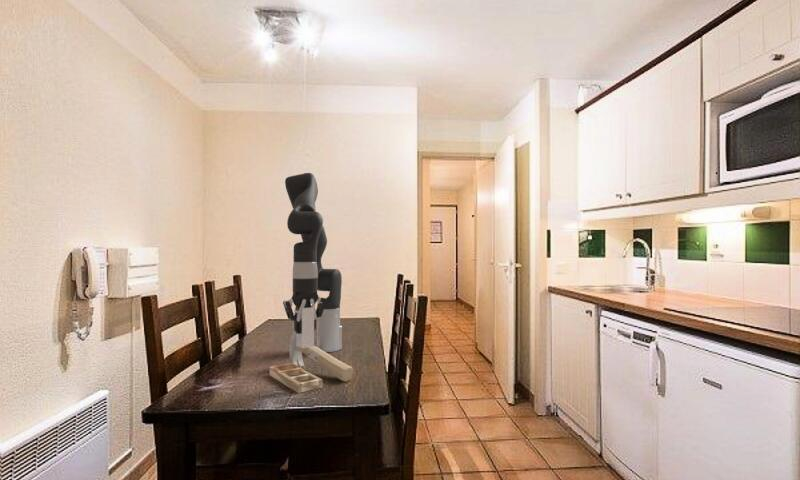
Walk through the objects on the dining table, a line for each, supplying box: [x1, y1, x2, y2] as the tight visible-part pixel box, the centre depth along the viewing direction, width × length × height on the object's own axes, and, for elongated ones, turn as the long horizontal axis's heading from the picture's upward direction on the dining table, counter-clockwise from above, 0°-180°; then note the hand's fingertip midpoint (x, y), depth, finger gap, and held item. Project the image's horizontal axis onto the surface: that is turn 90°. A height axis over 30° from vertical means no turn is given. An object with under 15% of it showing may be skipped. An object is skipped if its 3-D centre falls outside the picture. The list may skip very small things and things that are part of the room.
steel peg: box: [296, 307, 315, 348], centre depth 138 cm, size 4×4×12 cm
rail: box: [269, 362, 324, 394], centre depth 144 cm, size 8×22×3 cm, turn 38°
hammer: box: [288, 321, 354, 382], centre depth 153 cm, size 16×5×30 cm
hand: (305, 332), depth 138 cm, fingers closed on steel peg, 4 cm apart
